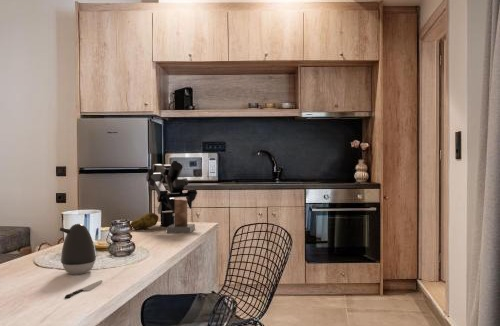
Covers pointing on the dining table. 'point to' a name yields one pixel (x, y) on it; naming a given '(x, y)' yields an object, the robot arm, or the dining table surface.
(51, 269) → the dining table surface
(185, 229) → the slate base
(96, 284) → the chef's knife
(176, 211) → the walnut cylinder
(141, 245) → the dining table surface
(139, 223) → the green bumpy oblong piece
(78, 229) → the pump dispenser
